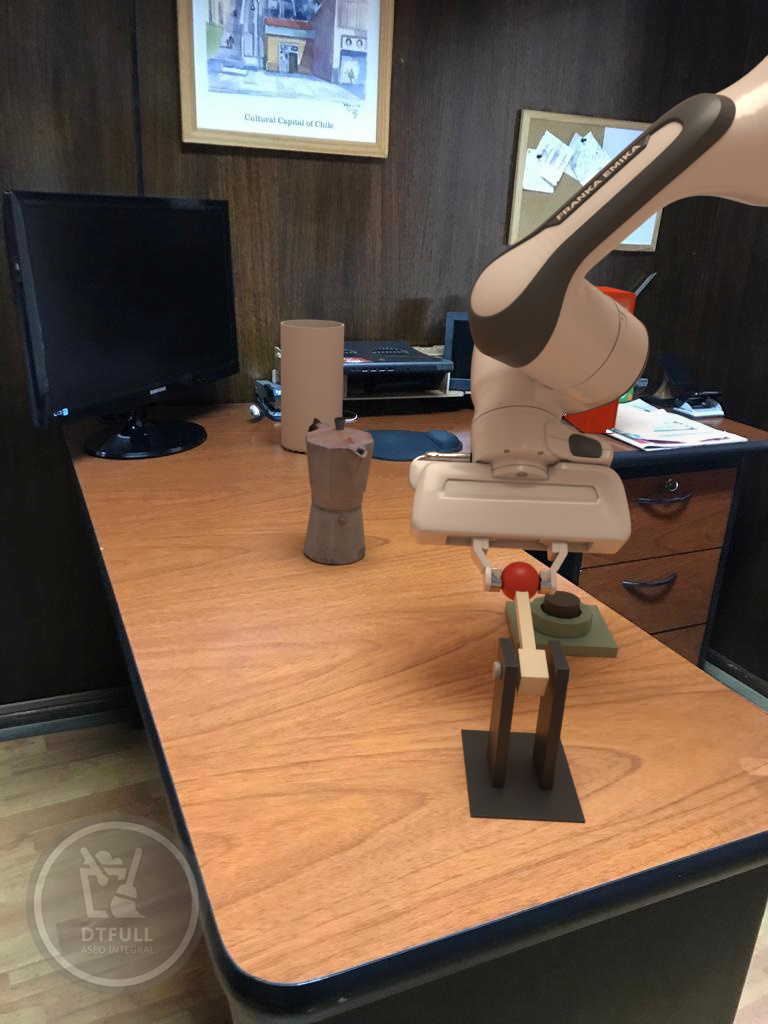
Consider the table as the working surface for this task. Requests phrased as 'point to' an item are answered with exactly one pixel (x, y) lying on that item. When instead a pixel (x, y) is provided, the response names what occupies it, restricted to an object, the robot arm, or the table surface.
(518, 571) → the lever
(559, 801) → the switch base
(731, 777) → the table surface
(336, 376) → the cylinder vase
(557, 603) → the button
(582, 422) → the file binder
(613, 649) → the block
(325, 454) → the moka pot
